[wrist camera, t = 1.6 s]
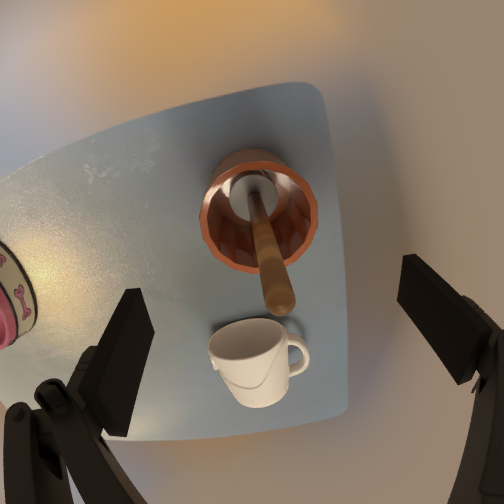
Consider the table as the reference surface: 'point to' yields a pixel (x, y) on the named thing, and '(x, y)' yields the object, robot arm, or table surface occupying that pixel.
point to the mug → (256, 360)
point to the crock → (240, 231)
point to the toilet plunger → (263, 236)
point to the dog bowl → (14, 300)
